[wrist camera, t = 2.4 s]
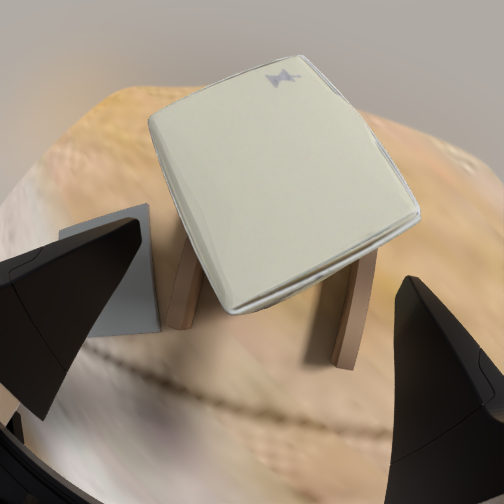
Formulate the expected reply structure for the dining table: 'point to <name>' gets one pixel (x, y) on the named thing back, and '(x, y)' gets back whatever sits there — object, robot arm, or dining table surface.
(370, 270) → the cradle
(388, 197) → the box
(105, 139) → the dining table surface
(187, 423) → the dining table surface
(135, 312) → the coaster
